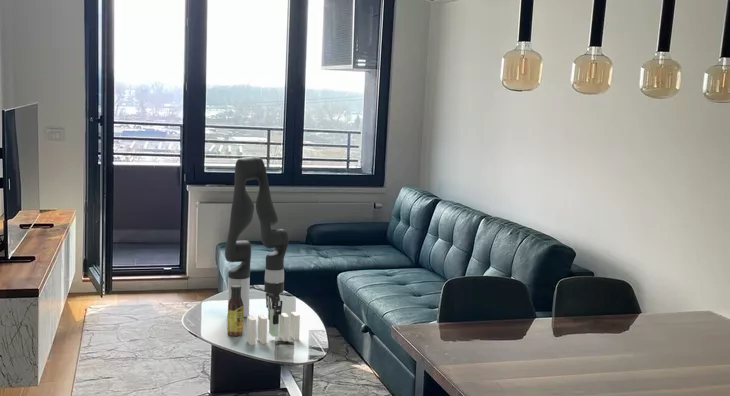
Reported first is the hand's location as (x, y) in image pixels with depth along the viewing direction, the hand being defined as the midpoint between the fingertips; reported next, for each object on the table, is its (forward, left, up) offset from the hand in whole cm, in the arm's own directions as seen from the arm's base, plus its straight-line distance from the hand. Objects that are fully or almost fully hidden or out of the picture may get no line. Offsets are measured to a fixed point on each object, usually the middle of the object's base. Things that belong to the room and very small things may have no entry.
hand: (273, 321), depth 272 cm
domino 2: (0, -4, -8) cm, 9 cm away
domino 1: (0, -9, -8) cm, 12 cm away
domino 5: (0, +9, -8) cm, 12 cm away
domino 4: (0, +5, -8) cm, 9 cm away
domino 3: (0, 0, -5) cm, 5 cm away
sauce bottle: (-12, -12, -8) cm, 19 cm away
